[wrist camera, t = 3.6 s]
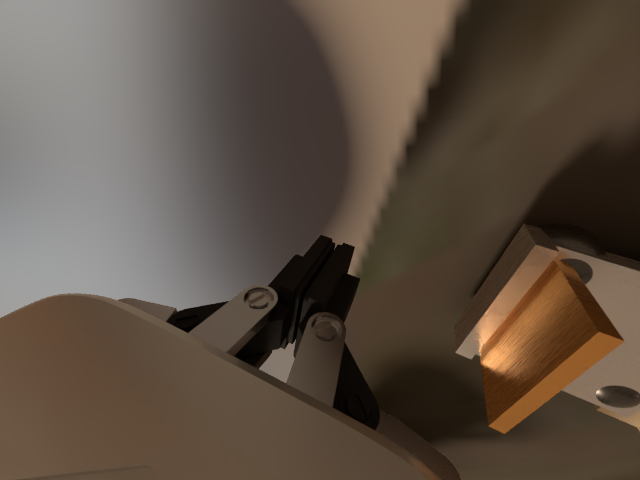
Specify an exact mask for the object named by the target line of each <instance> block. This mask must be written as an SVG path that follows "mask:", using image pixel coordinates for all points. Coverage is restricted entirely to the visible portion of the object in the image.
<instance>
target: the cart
mask: <svg viewBox="0 0 640 480" xmlns="http://www.w3.org/2000/svg"><path fill="white" fill-rule="evenodd" d="M455 353H457V354H460V355H462V356H464V357H467V358H469V359H472V358H473V357H474V355H475V354H477V355H480V359H481V368H482V376H483V384H484V393H485V401H486V409H487V418H488V426H489V427H491V428H493V429H496V430H498V431H500V432H502V433H504V434H505V433H506V432H508V431H509V430H510V429H512V428H513V427H514V426H516V425H517V424H518V423H519V422H521V421H522V420H523V419H525V418H526V417H527V416H528V415H530V414H531V413H532V412H534V411H535V410H536V409H538V408H539V407H540V406H541V405H543V404H544V403H545V402H547V401H548V400H549V399H550V398H552V397H553V396H554V395H556V394H557V393H558V392H560V391H561V390H562V391H565V392H567V393H569V394H572V395H574V396H576V397H579V398H581V399H584V400H586V401H588V402H591V403H593V404H595V405H598V406H600V407H602V408H605V409H607V410H610V411H612V412H614V413H617V414H619V415H621V416H624V417H626V418H628V417H629V416H631V415H633V414H635V413H636V412H638V411H640V262H639V261H635V260H632V259H629V258H625V257H622V256H618V255H615V254H612V253H608V252H606V251H605V249H604V247H603V245H602V244H601V242H600V241H599V240H598V239H597V238H596V237H595V236H594V235H593V234H591V233H590V232H588V231H586V230H584V229H582V228H580V227H577V226H573V225H568V224H549V225H544V226H541V227H535V226H531V225H528V224H525V223H524V224H523V225H522V227H521V228H520V230H519V231H518V233H517V234H516V236H515V237H514V239H513V240H512V242H511V243H510V245H509V246H508V247H507V249H506V250H505V252H504V253H503V255H502V256H501V258H500V259H499V261H498V262H497V264H496V265H495V267H494V268H493V270H492V271H491V272H490V274H489V275H488V277H487V278H486V280H485V281H484V283H483V284H482V286H481V287H480V289H479V290H478V292H477V293H476V295H475V296H474V297H473V299H472V300H471V302H470V303H469V305H468V306H467V308H466V309H465V311H464V312H463V314H462V315H461V317H460V318H459V320H458V321H457V322H456V324H455Z"/></svg>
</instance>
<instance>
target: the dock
mask: <svg viewBox="0 0 640 480" xmlns="http://www.w3.org/2000/svg"><path fill="white" fill-rule="evenodd" d="M595 408H596V410H598V411H600V412H603V413H605V414H607V415H610V416H612V417H614V418H617V419H619V420H621V421H624V422H626V423H628V424H631V425H633V426H635V427H638V429H639V431H640V411H638V412H636V413H635V414H633V415H631V416H629V417H628V418H626V417H624V416H621V415H619V414H617V413H614V412H612V411H610V410H607V409H605V408H602V407H600V406H598V405H595Z"/></svg>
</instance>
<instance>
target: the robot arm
mask: <svg viewBox="0 0 640 480" xmlns="http://www.w3.org/2000/svg"><path fill="white" fill-rule="evenodd" d="M334 248H335V243H333V242H332V239H331V238H328V237H326V236H323V235H321V236H320V237H319V238H318V239H317V240H316V242H315V243H314V244H313V245H312V246H311V248H310V249H309V250H308V252H306V254H305V255H304V256H303V257H302V256H300V255H295V256H294V257H293V258H292V259H291V260H290V261H289V263H288V264H287V265H286V266H285V267H284V268H283V269H282V271H281V272H280V273H279V274H278V275H277V276H276V277H275V279H274V280H273V281H272V282H271V283H270V284H269V285H268V286H265V285H253V286H250V287H248V288H246V289H244V290H243V291H242V292H241V293H239V294H238V295H237V296H235V297H234V298H233V299H232V300H230V301H227V302H222V303H216V304H211V305H205V306H200V307H194V308H188V309H184V310H182V311H179V312H178V311H177V310H176V308H173V307H168V306H164V305H160V304H155V303H150V302H146V301H141V300H137V299H131V298H125V299H120V300H114V299H111V298H107V297H103V296H97V295H89V294H59V295H55V296H50V297H47V298H44V299H41V300H39V301H36V302H34V303H31V304H29V305H27V306H24V307H22V308H20V309H18V310H16V311H14V312H12V313H10V314H8V315H6V316H4V317H2V318H0V480H461V477H460V474H459V473H458V471H457V469H456V468H455V466H454V464H453V463H452V462H451V461H450V460H449V459H448V458H447V457H446V456H444V455H443V454H442V453H440V452H439V451H438V450H437V449H435V448H434V447H433V446H431V445H430V444H429V443H428V442H426V441H425V440H424V439H422V438H421V437H420V436H419V435H417V434H416V433H415V432H413V431H412V430H411V429H410V428H408V427H407V426H406V425H404V424H403V423H402V422H400V421H399V420H398V419H397V418H395V417H394V416H393V415H391V414H390V415H389V416H388V415H387V414H385V413H384V412H383V411H382V410H380V409H379V407H378V404H377V401H376V399H375V398H374V396H373V394H372V392H371V390H370V388H369V386H368V384H367V383H366V381H365V379H364V377H363V375H362V373H361V371H360V370H359V368H358V366H357V364H356V362H355V360H354V358H353V357H352V355H351V353H350V351H349V349H348V347H347V345H346V344H345V337H346V327H345V324H344V322H345V319H346V317H347V314H348V312H349V310H350V307H351V305H352V302H353V299H354V297H355V294H356V291H357V288H358V285H359V281H360V278H357V277H354V276H352V275H349V274H347V273H348V269H349V266H350V262H351V259H352V255H353V252H354V248H355V247H354V246H351V245H348V244H345V243H343V244H342V245H339V244H338V245H337V247H336V248H335V250H334ZM295 339H296V343H295V349H294V358H295V360H294V362H293V365H292V368H291V371H290V374H289V377H288V380H287V383H284V382H282V381H280V380H278V379H276V378H275V377H273V376H271V375H269V374H267V373H265V372H263V371H261V370H259V368H260V367H261V365H262V364H263V363H264V362H265V361H266V360H267V358H268V357H269V356H270V354H271V353H272V350H275V349H279V348H280V347H281V348H283V349H285V348H286V346H287V345H288V343H291V344H293V343H294V341H295Z"/></svg>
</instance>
